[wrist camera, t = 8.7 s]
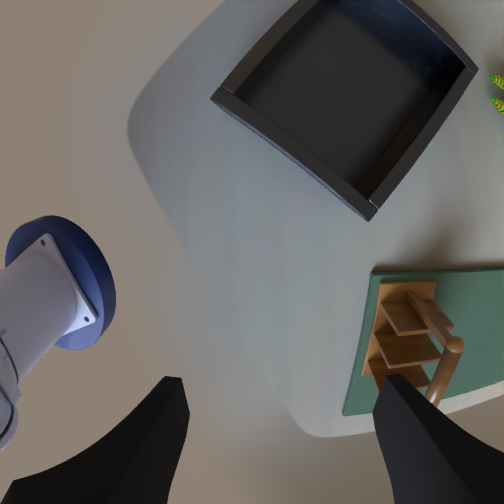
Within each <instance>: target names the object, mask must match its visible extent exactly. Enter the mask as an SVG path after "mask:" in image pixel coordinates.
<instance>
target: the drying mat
mask: <svg viewBox="0 0 504 504" xmlns="http://www.w3.org/2000/svg"><path fill="white" fill-rule="evenodd" d="M417 280H435V281H436V282H437V283H436V287H435V292H434V296H433V300H432V301H433V302H434V303H435V304H436V305H437V306H438V307H439V308H440V309H441V310H442V312H443V313H444V314H445V315H446V316H447V317H448V318H449V319H450V320H451V322H452V323H453V324H454V325H455V327H454V329H452V330H448V331H449V332H450V334H451V335H452V336H459V337H461V338H462V339H463V341H464V345H465V346H464V350H463V353H462V355H461V357H460V360H459V362H458V365H457V367H456V369H455V371H454V374H453V376H452V378H451V380H450V382H449V384H448V386H447V388H446V390H445V392H444V394H443V396H442V398H441V399H445V398H449V397H453V396H456V395H460V394H464V393H467V392H470V391H473V390H477V389H480V388H483V387H486V386H489V385H492V384H495V383H497V382H500V381H503V380H504V267H502V268H481V269H458V270H430V271H396V272H371V274H370V281H369V288H368V295H367V301H366V307H365V313H364V319H363V324H362V330H361V335H360V340H359V345H358V349H357V354H356V359H355V363H354V367H353V372H352V376H351V380H350V384H349V388H348V392H347V395H346V399H345V403H344V406H343V410H342V415H343V416H351V415H360V414H368V413H372V411H373V408H374V406H375V403H376V400H377V398H378V395H379V394H378V391H377V388H376V386H375V383H374V381H373V378H372V375H367V376H361V369H362V366H363V362H364V357H365V353H366V349H367V345H368V340H369V336H370V331H371V326H372V321H373V316H374V311H375V306H376V300H377V294H378V288H379V282H390V281H417ZM427 335H428V336H429V337H430V339H431V340H432V342H433V343H434V344H435V346H436V347H437V349H438V350H439V351H440V353H441V354H442V353H443V350H444V348H443V347H442V346H441V344H440V343H439V342H438V340H437V339H436V337H435V336H434V335H433V333H432V332H431V333H427ZM438 363H439V361H437V362H431V363H425V364H421V366H422V368H423V369H424V371H425V373H426V375H427V376H428V378H429V380H430V382H431V380H432V378H433V375H434V373H435V370H436V368H437V366H438ZM427 389H428V388H424V389H419V390H418V391H419V392H420V393H421V394H422V395H423V396H424V395H425V393H426V391H427Z"/></svg>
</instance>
